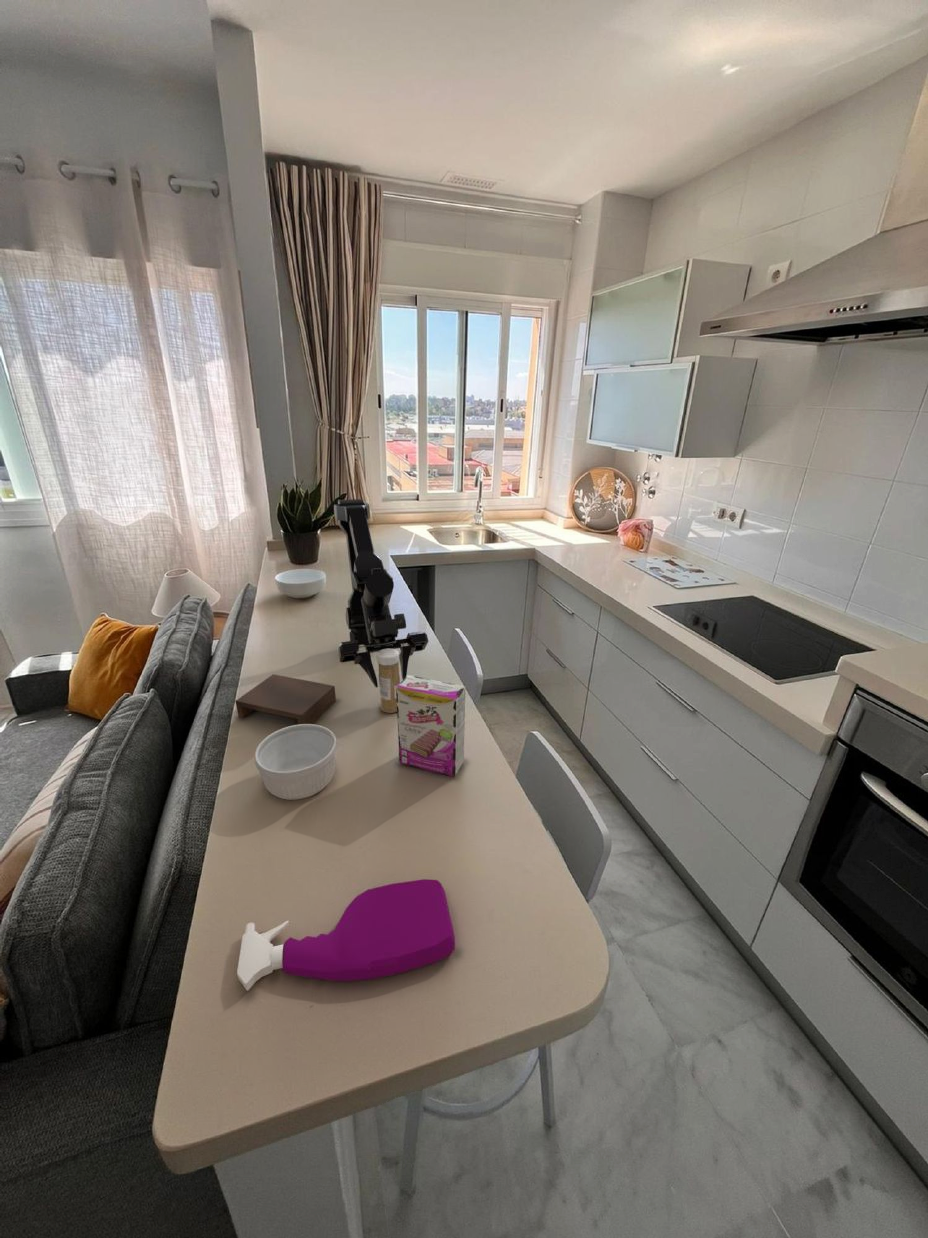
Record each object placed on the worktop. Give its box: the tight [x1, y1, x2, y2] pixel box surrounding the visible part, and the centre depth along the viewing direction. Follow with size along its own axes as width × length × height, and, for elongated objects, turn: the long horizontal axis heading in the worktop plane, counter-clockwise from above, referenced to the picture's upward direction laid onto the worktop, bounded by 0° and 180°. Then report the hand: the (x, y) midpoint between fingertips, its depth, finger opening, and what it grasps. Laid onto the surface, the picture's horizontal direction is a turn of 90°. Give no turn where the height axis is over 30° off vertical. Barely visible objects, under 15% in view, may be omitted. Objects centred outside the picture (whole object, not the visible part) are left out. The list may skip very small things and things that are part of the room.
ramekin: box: [254, 723, 338, 801], centre depth 85 cm, size 13×13×7 cm
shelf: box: [235, 673, 337, 725], centre depth 106 cm, size 12×16×4 cm
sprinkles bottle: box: [376, 648, 401, 714], centre depth 105 cm, size 5×5×14 cm
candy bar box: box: [396, 674, 466, 778], centre depth 87 cm, size 11×5×16 cm, turn 71°
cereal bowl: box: [274, 568, 327, 599], centre depth 171 cm, size 17×17×7 cm
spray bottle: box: [236, 878, 456, 991], centre depth 59 cm, size 3×11×24 cm
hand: (390, 684), depth 103 cm, fingers open, 6 cm apart
